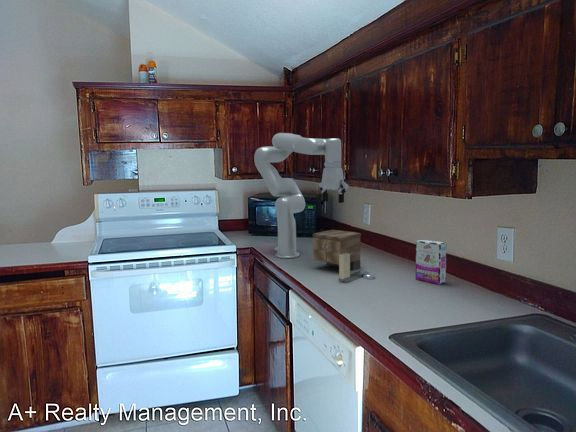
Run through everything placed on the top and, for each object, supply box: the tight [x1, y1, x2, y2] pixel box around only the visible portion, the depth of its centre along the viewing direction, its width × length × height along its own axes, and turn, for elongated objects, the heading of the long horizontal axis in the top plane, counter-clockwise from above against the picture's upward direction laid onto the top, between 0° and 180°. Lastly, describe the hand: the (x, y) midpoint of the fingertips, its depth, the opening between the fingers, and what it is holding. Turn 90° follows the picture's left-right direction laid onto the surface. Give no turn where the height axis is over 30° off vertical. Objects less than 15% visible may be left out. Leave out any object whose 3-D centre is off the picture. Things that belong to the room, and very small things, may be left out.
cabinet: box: [312, 229, 362, 271], centre depth 197 cm, size 17×16×16 cm
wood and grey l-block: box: [338, 253, 370, 283], centre depth 181 cm, size 4×16×12 cm, turn 134°
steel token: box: [362, 272, 376, 280], centre depth 181 cm, size 5×5×2 cm
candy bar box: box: [415, 239, 447, 285], centre depth 173 cm, size 11×5×16 cm, turn 40°
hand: (333, 202), depth 202 cm, fingers open, 9 cm apart
